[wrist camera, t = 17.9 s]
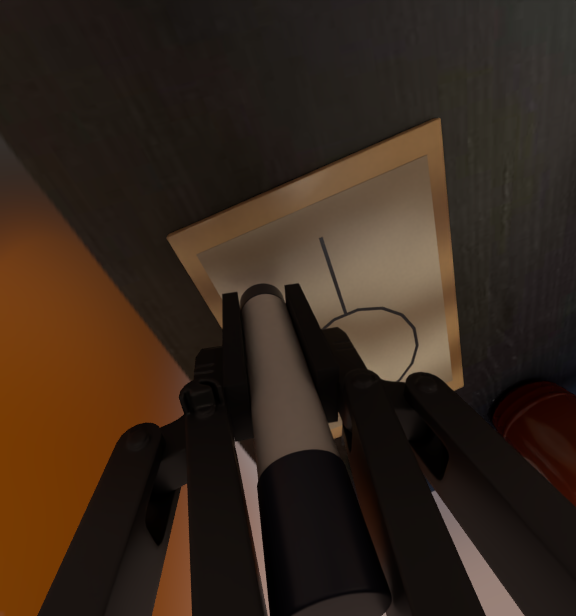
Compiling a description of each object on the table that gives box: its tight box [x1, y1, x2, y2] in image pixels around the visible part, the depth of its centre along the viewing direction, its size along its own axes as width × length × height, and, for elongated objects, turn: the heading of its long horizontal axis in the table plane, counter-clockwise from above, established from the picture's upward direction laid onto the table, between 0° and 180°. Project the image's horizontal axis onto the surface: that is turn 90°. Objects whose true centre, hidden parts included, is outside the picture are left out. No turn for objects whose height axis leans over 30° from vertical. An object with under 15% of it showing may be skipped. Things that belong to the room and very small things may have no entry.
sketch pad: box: [167, 118, 464, 439], centre depth 23 cm, size 22×16×1 cm
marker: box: [240, 283, 392, 616], centre depth 12 cm, size 2×2×13 cm
